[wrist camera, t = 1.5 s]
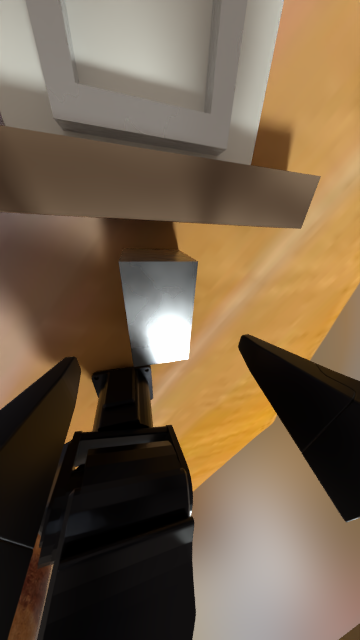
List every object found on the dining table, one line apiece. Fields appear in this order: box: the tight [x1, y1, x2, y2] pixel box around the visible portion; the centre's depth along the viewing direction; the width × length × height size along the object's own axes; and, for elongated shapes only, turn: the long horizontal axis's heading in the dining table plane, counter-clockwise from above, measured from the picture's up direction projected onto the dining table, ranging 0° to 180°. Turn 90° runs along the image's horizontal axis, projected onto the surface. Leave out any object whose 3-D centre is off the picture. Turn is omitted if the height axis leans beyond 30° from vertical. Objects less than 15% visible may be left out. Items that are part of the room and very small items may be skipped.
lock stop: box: [119, 249, 198, 367], centre depth 13 cm, size 8×4×5 cm, turn 177°
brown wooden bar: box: [0, 125, 321, 229], centre depth 10 cm, size 3×22×3 cm, turn 87°
